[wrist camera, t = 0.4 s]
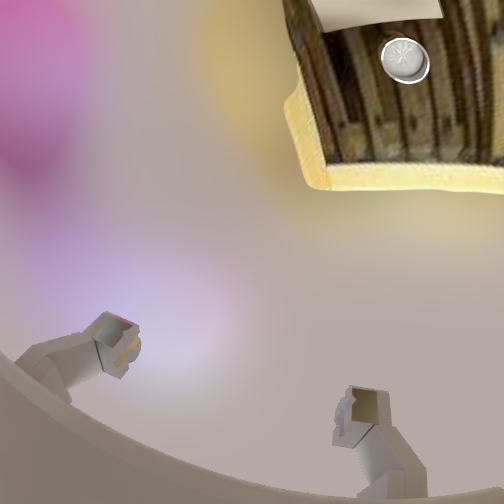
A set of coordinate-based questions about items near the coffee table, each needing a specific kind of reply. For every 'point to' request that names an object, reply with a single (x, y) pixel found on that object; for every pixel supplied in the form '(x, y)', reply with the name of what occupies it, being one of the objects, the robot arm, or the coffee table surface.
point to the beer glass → (402, 57)
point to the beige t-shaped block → (372, 11)
